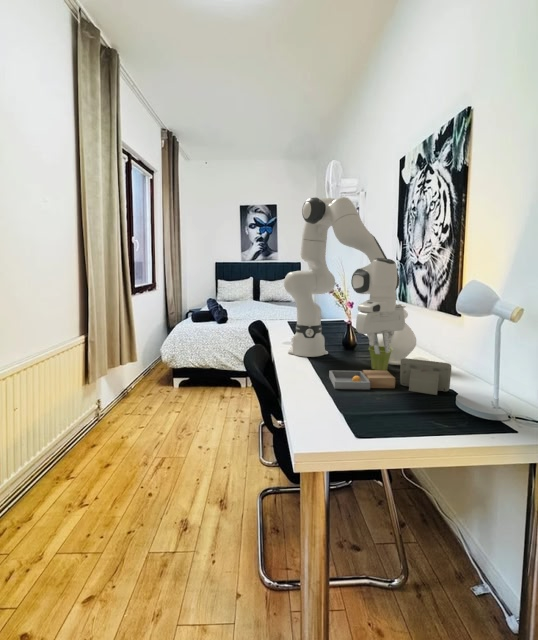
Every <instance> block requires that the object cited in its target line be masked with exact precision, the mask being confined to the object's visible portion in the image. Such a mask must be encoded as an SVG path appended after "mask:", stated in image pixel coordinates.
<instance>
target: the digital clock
mask: <svg viewBox="0 0 538 640" xmlns="http://www.w3.org/2000/svg"><path fill="white" fill-rule="evenodd" d="M399 366H400V368H399V371H400V372H399V383H400V385H401V386H403V387H408V392H414V393H419V394H427V395H435V396H438V392H448V391H450V386H451V377H452V364H450V363H448V362H443V361H435V360H433V361H432V360H427V359H426V360H425V359H418V358H417V359H415V358H407V357H406V358H402V359H401V363H400V365H399Z"/></svg>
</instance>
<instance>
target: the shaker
mask: <svg viewBox="0 0 538 640" xmlns="http://www.w3.org/2000/svg"><path fill="white" fill-rule="evenodd" d="M387 332H388V331H387V330H386V331H382V332H379V333H374V336H373V338H374V340H376V345H374V349H375V354H380V349H379V343H378V337H377V334H382V335H383V341H384V347H385V351H386V353H389V352H391V351H390V345H389V339H388V333H387Z"/></svg>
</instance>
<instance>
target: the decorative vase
mask: <svg viewBox="0 0 538 640" xmlns="http://www.w3.org/2000/svg"><path fill="white" fill-rule="evenodd" d="M396 305H401V306H402V307H403V308H404V315H405V320H406V319H407V318H408V317H409V313H408V312H407V310H405V308H407V305H406V304H401V303H396ZM377 337H378V343H379V346H384V341H383V335H382V334H377ZM389 345H390V348H392V349H393V350H392V351H391V354H390V358H389V362H388V365H395V366H396V365H397V366H400V363H401V359H402V358H407V357H408V356H409V355H410V354H411V353H412V352H413V351H414V349H415V348H416V346H417V336H416V335H415V333H414V331H413V330H412V328H411V327H410V326H409V324H408V323H406V322H405V327H404V329H403V330H399V331H394V335H393V337H392V339H391V344H389Z"/></svg>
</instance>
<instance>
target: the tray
mask: <svg viewBox="0 0 538 640" xmlns="http://www.w3.org/2000/svg"><path fill="white" fill-rule="evenodd" d="M328 375H329V376H328V378H329V380H330V382H331V385H332V386H333V389H334V390H364V391H365V390H371V388H370V381H369V380H368V379H367V378H366V376H365V375H364V374H363V370H329V373H328ZM354 376H359V377H360V378H361V382H353V381H352V378H353V377H354Z"/></svg>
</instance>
